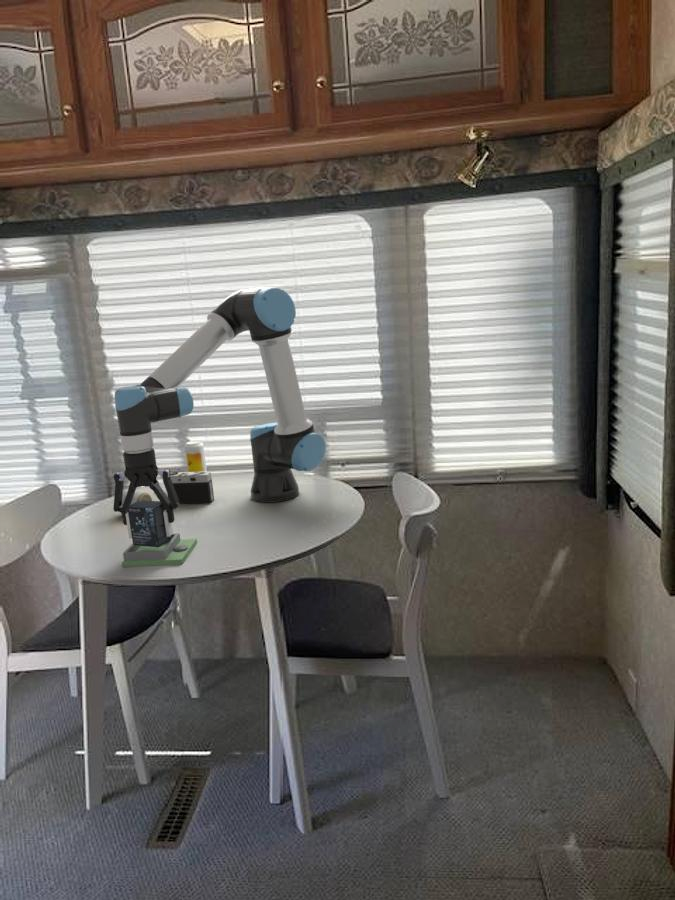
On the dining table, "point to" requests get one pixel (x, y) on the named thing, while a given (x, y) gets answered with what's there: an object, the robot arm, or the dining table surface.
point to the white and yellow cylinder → (195, 456)
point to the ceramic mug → (137, 496)
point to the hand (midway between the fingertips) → (151, 535)
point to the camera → (193, 487)
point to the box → (147, 523)
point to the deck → (160, 552)
